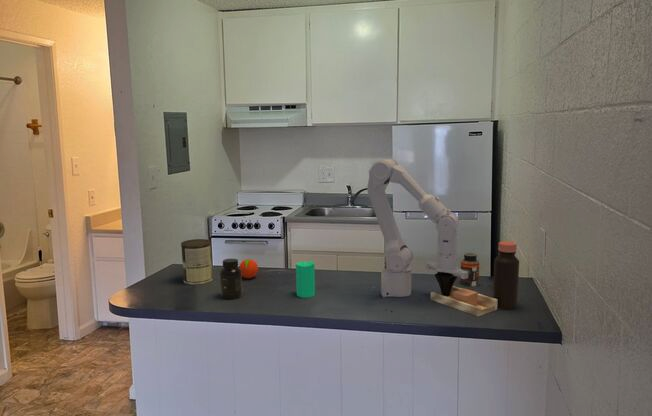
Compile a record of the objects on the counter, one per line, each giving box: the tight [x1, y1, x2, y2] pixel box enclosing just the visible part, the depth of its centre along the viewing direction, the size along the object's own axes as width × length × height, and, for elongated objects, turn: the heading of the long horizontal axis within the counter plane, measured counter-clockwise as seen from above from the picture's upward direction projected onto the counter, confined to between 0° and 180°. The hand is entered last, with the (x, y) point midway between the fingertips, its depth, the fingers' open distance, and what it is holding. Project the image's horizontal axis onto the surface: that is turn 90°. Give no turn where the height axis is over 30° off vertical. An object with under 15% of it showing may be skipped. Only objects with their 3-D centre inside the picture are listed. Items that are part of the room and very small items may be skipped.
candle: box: [295, 260, 316, 298], centre depth 160 cm, size 6×6×12 cm
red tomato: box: [238, 258, 259, 279], centre depth 179 cm, size 8×7×7 cm
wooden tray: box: [430, 285, 498, 317], centre depth 149 cm, size 18×16×4 cm
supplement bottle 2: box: [459, 252, 480, 287], centre depth 166 cm, size 6×6×11 cm
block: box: [453, 288, 479, 306], centre depth 146 cm, size 5×5×4 cm
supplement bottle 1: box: [219, 258, 243, 300], centre depth 160 cm, size 7×7×12 cm
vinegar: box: [492, 240, 520, 311], centre depth 144 cm, size 7×7×20 cm
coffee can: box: [180, 238, 213, 285], centre depth 177 cm, size 10×10×14 cm
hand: (445, 296), depth 152 cm, fingers closed
